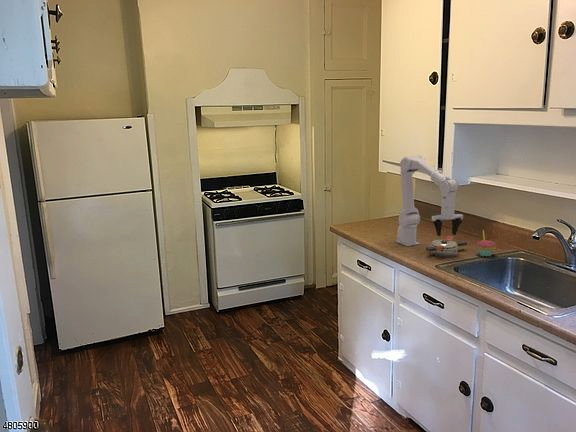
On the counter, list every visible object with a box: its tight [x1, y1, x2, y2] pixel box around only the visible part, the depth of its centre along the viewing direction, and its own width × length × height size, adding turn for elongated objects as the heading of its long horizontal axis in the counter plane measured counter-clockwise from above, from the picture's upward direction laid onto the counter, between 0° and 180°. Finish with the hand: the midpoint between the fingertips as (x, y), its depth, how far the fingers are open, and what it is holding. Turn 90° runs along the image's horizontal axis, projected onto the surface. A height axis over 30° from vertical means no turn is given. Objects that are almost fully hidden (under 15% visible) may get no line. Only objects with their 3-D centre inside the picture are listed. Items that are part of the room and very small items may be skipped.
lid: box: [431, 235, 457, 251], centre depth 229 cm, size 23×11×2 cm, turn 149°
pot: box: [425, 240, 468, 258], centre depth 229 cm, size 13×23×4 cm, turn 114°
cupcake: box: [475, 230, 497, 258], centre depth 224 cm, size 9×8×12 cm
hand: (446, 235), depth 223 cm, fingers open, 7 cm apart
